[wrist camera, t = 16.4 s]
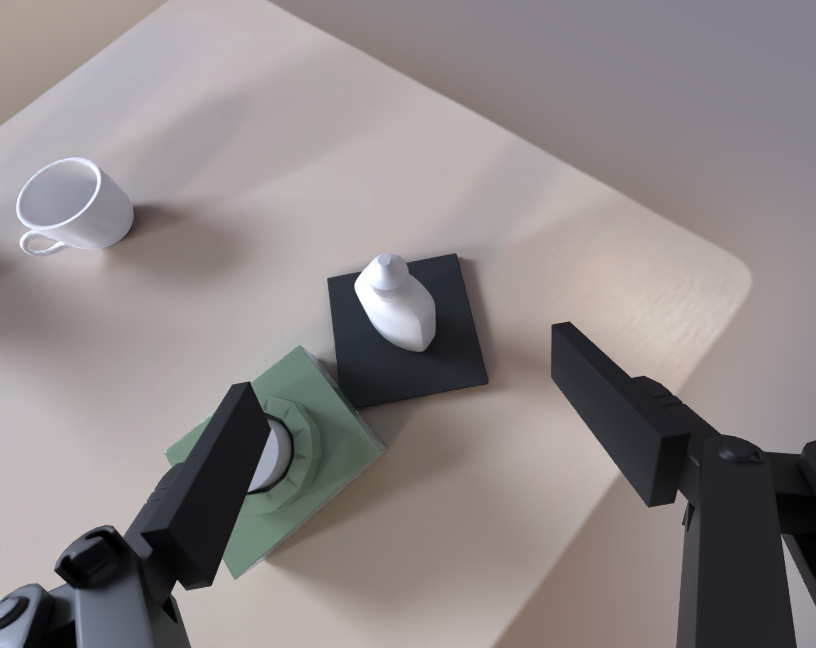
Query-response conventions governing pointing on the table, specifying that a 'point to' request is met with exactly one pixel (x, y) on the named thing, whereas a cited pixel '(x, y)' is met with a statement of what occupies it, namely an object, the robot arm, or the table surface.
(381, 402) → the mat
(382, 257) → the eye dropper bottle
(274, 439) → the grey round button
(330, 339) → the table surface
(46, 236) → the teacup
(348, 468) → the green button base
